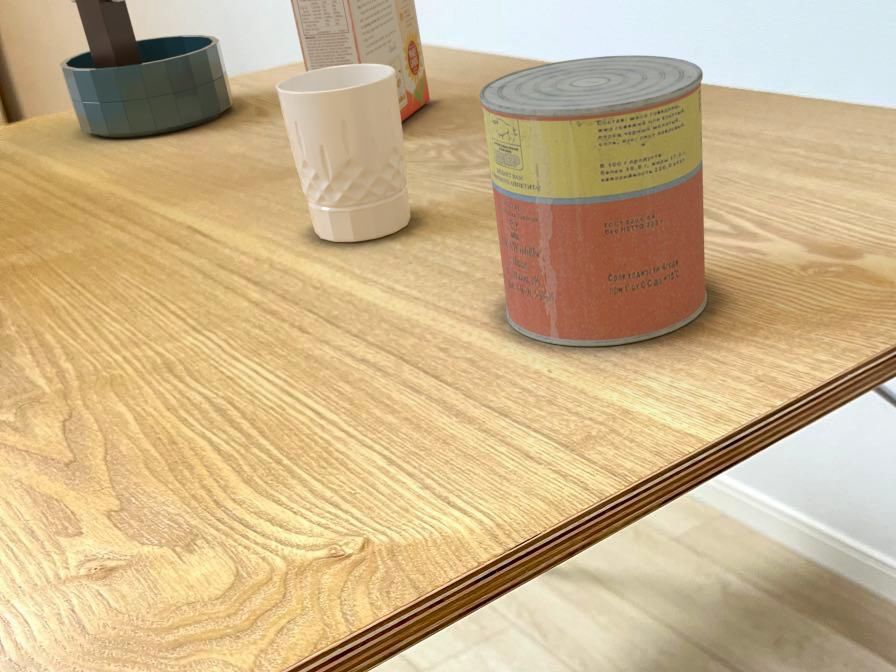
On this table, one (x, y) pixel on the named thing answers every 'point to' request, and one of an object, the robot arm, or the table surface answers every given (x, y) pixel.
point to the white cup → (348, 149)
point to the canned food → (599, 197)
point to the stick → (109, 33)
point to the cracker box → (365, 41)
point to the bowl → (150, 88)
